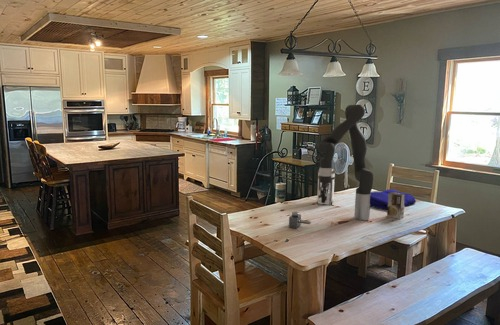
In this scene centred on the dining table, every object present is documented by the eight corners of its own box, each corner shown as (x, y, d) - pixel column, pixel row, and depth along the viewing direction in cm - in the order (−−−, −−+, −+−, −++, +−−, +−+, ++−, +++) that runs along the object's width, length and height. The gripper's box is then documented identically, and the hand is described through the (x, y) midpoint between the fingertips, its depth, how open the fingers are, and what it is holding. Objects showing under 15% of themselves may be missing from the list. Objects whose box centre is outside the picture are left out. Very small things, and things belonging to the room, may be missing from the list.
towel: (416, 204, 286) (417, 193, 285) (390, 212, 265) (391, 200, 263) (385, 197, 307) (386, 186, 305) (359, 204, 285) (359, 192, 283)
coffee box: (403, 217, 252) (405, 193, 250) (400, 219, 248) (401, 195, 245) (390, 214, 259) (392, 191, 256) (386, 216, 254) (388, 193, 251)
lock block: (331, 202, 234) (331, 190, 232) (329, 204, 229) (329, 192, 228) (319, 201, 237) (320, 189, 235) (317, 203, 232) (318, 191, 231)
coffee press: (310, 201, 288) (311, 163, 283) (327, 199, 294) (329, 162, 290) (323, 207, 273) (324, 167, 268) (341, 205, 279) (343, 165, 274)
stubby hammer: (311, 227, 230) (312, 213, 229) (308, 231, 223) (308, 216, 222) (293, 224, 235) (293, 210, 234) (288, 228, 228) (289, 213, 226)
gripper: (328, 177, 222) (327, 205, 225) (333, 173, 235) (332, 199, 238) (316, 176, 225) (315, 203, 228) (322, 172, 238) (321, 198, 241)
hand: (324, 201), depth 233 cm, fingers closed on lock block, 5 cm apart
